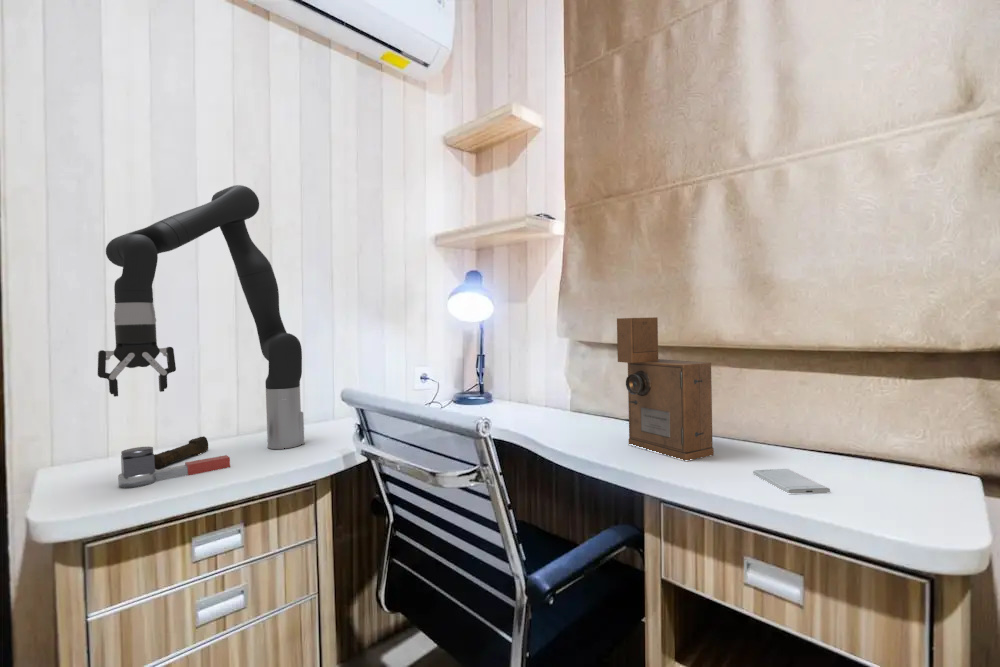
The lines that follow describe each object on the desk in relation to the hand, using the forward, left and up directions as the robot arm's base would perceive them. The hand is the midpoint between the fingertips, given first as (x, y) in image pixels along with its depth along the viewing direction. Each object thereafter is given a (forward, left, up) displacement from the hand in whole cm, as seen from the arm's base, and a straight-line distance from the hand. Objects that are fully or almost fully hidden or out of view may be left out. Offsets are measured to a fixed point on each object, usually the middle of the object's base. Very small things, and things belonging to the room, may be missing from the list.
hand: (139, 393), depth 112 cm
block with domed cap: (+1, +1, -18) cm, 18 cm away
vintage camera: (-104, +73, -21) cm, 129 cm away
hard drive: (-97, +104, -21) cm, 144 cm away
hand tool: (-10, -17, -21) cm, 29 cm away
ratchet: (-7, +1, -20) cm, 21 cm away
